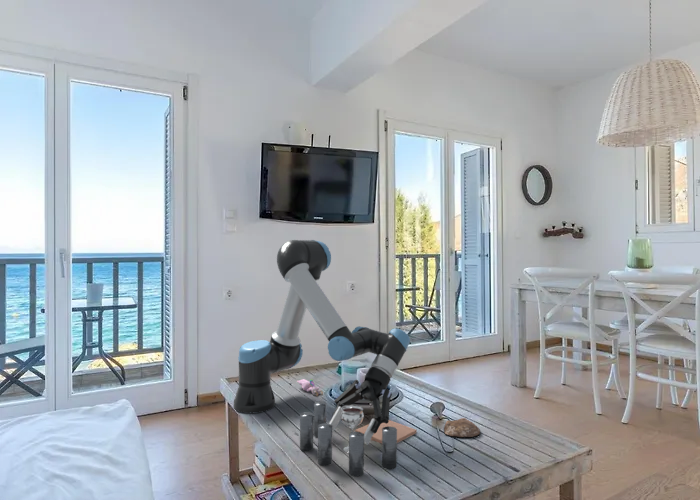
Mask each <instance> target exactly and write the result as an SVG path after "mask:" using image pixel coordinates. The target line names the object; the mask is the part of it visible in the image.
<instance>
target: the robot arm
mask: <svg viewBox="0 0 700 500" xmlns="http://www.w3.org/2000/svg"><path fill="white" fill-rule="evenodd" d="M331 263H332V254H331V251H330V250H329V246H328V245H327V244H326V243H324V242H323V241H320V240H314V239H310V240H309V239H308V240H306V239H304V240H303V239H302V240H301V239H300V240H298V239H291V240H287V241H286V242H285V243H283V244H282V245H281V246H280V248H279V250H278V252H277V254H276V264H277V268H278V271H279V273H280V275H281V276H282V278H283V279H284V281H285V282H286V283H290V284H289V287H288V291H287V295H286V298H285V301H284V305H283V307H282V312H281V316H280V320H279V323H278V326H277V330H275V331H273V332H272V333H271V336H270V340H265V339H262V340H261V339H259V340H258V339H257V340H252V341H251V340H250V341H248V342H245V343H243V344H242V345H241V346H240V348H239V350H238V387H237V390H236V393H235V396H234V398H233V409H234V410H235V411H236V412H240V413H244V414H254V413H253V412H258V413H263V412H262V411H264V412H267V411H269V410H271V409H273V408H274V407H276V397H275V394H274V391H273V388H272V384H271V378H272V377H271V376H272V375H271V374H275V373H279V372H281V371H284V370H290V369H291V368H293V367H295V366H297V365H298V364H299V363H300V362H301V360H302V357H303V346H302V343H301V339H300V337H299V334H300V330H301V327H302V325H303V320H304V317H305V315H306V311H307V310H308V312H309V313H310V315H311V316H312V318H313V319H314V321H315V322H316V323H317V326H318V327H319V328H320V330H321V332H322V333H323V335H324V336H325V338H326V339H327V341H328V343H327V350H328V354H329V357H330V358H331V359H332V360H334V361H337V362H342V361H347V360H350V359H352V358H355V357H357V356H361V355H365V354H367V353H371V354H374V355H376V356H375V358H374V360H373V361H372V363H371V365H370V367H369V368H368V370H367V372H366V374H365V376H364V381H362V382H360V381H359V380H358V379H355V380H354V381H353V383H352V384H351V385H350V386H349V387H347V389H346V390H344V391H343V392H342V393H341V394H340V395H339V396H337V397H336V398H335V399H334V404H336V408H335V410H334V411H333V413H332V418H331V419H330V421H329V423H328V424H331V425H332V431H335V429H336V428H337V426H338V424H339V423H340V421H341V420H342V419H341V413H342V410H341V408H342V407H343V406H346V405H354V404H355V403H356V402H358V401H363V399H364V400H366V401H369V402H371V403H372V407H373V412H374V418H371V420H370V422H369V423H368V424H369V426H368V428H367V430H366V432H365V434H364V444H366V445H369V444H370V442H371V441H372V440H371V438H372V436H373V434H374V433H376V432H377V430H378V428H379V426H380V424H382V423H386V424H387V423H388V422H389V419H390V405H391V401H390V400H391V398H392V396H393V393H392V392H391V391H390V389H389V388H388V386H389V384H390V382H391V379H392V378H393V376H394V374H395V371H396V370H397V368H398V366H399V364H400V362H401V361H402V358H403V356H404V354H405V353H406V352H407V349H408V347H409V344H410V343H411V339H410V336H409V335H408V333H406V332H405V331H404V330H402V329H400V328H396V327H395V328H392V329H390V330H389V331H388V333H386V332H382V331H378V330H376V329H371V328H369V327H365V326H356V327H355V328H353V330H352V331H351V330H350V329H349V327H348V326H347V324H346V322H345V321H344V320H343V318H342V317H341V315H340V314H339V312H338V311H337V310H336V308H335V307H334V306H333V304H332V302H331V301H330V300H329V298H328V296H327V295H326V294H325V292H324V290H323V289H322V288H321V286H320V285H319V283H318V282H317V281H319V280H320V278H321V274H322V272H324V271H325V270H327V269H328V268H329V267H330V265H331ZM380 397H382V399H381V400H380ZM380 401H382V403H381V402H380ZM266 410H267V411H266ZM250 412H252V413H250Z"/></svg>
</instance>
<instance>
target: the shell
mask: <svg viewBox="0 0 700 500" xmlns="http://www.w3.org/2000/svg"><path fill="white" fill-rule="evenodd" d="M443 434H444V436H446V437H449V438H454V439H461V440H462V439H469V440H470V439H474V438H479V437H480V436H481V430H480V428H479V427H478V426H477V425H476V424H475V423H474V422H472V421H470V420H468V419H467V418H465V417H461V418H459V419H455V420H446V421H445V424H444V427H443ZM478 436H479V437H478Z"/></svg>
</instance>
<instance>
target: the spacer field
mask: <svg viewBox="0 0 700 500" xmlns="http://www.w3.org/2000/svg"><path fill="white" fill-rule="evenodd" d="M299 422H300V423H299V450H301V452H311V451H313V450H314V437H315V438H317V464H318V465H320V466H322V467H327V466H329V465H332V464H333V430H332V425H331V424H329V423H327V402H326V401H322V400H321V401H315V402H313V412H311V411H305V412H301V413H300V414H299ZM348 446H349V453H348V474H349V476H350V477H351V476H352V477H357V478H358V477H361V476H363V475H364V473H365V468H364V467H365V442H364V434H363V433H361V432H355V431H353V432H352V433H351V432H350V433H349V434H348ZM397 451H398V443H397V429H396V428H395V427H389V426H388V427H384V428H383V429H382V444H381V467H382V468H383V469H386V470H394V469H397V466H398V465H397V462H398V460H397V458H398V455H397V454H398V453H397Z"/></svg>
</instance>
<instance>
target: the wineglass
mask: <svg viewBox="0 0 700 500" xmlns="http://www.w3.org/2000/svg"><path fill="white" fill-rule="evenodd" d="M341 410H342V413H341V419H340V420H341V421H342V423H343V424H344V425H345V426H347V427H349V428H350V433H352V432H354V429H355V428H356V427H358V426H360V425H361V423H362V422H363V420H364V417H365V415H364V407H363V406H361V405H358V404H352V405H346V406H343V407H342V408H341ZM343 451H344V452H345V453H347V454H349V445H347V446H345V447H344V448H343Z"/></svg>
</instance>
